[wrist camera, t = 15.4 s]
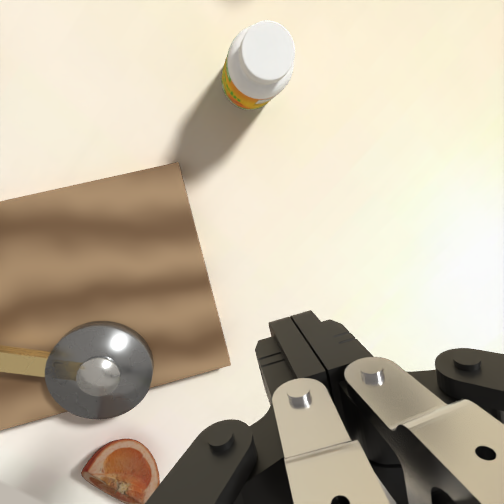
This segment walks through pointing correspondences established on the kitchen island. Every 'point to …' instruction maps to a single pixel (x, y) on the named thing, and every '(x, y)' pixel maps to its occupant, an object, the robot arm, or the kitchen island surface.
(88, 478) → the fruit slice
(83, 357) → the grey and tan lever
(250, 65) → the supplement bottle
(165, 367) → the levelling board
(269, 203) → the kitchen island surface
